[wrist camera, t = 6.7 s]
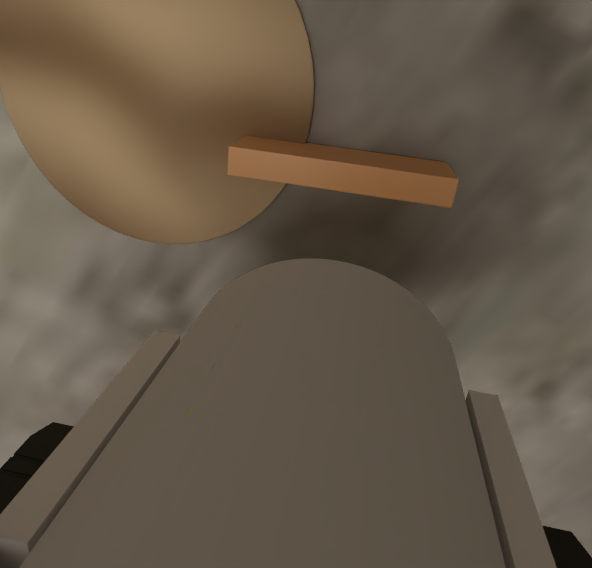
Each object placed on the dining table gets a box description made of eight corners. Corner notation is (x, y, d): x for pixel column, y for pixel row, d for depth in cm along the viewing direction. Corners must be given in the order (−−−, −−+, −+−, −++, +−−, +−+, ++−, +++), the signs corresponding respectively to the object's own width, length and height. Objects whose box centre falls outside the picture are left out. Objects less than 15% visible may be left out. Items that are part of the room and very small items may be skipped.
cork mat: (-25, -132, 17) (-34, -136, 16) (338, -96, 16) (337, -99, 15) (25, 217, 23) (19, 220, 22) (294, 261, 21) (293, 265, 21)
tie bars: (248, 134, 19) (228, 146, 17) (446, 162, 19) (458, 179, 16) (233, 365, 24) (216, 402, 22) (388, 393, 24) (390, 436, 21)
